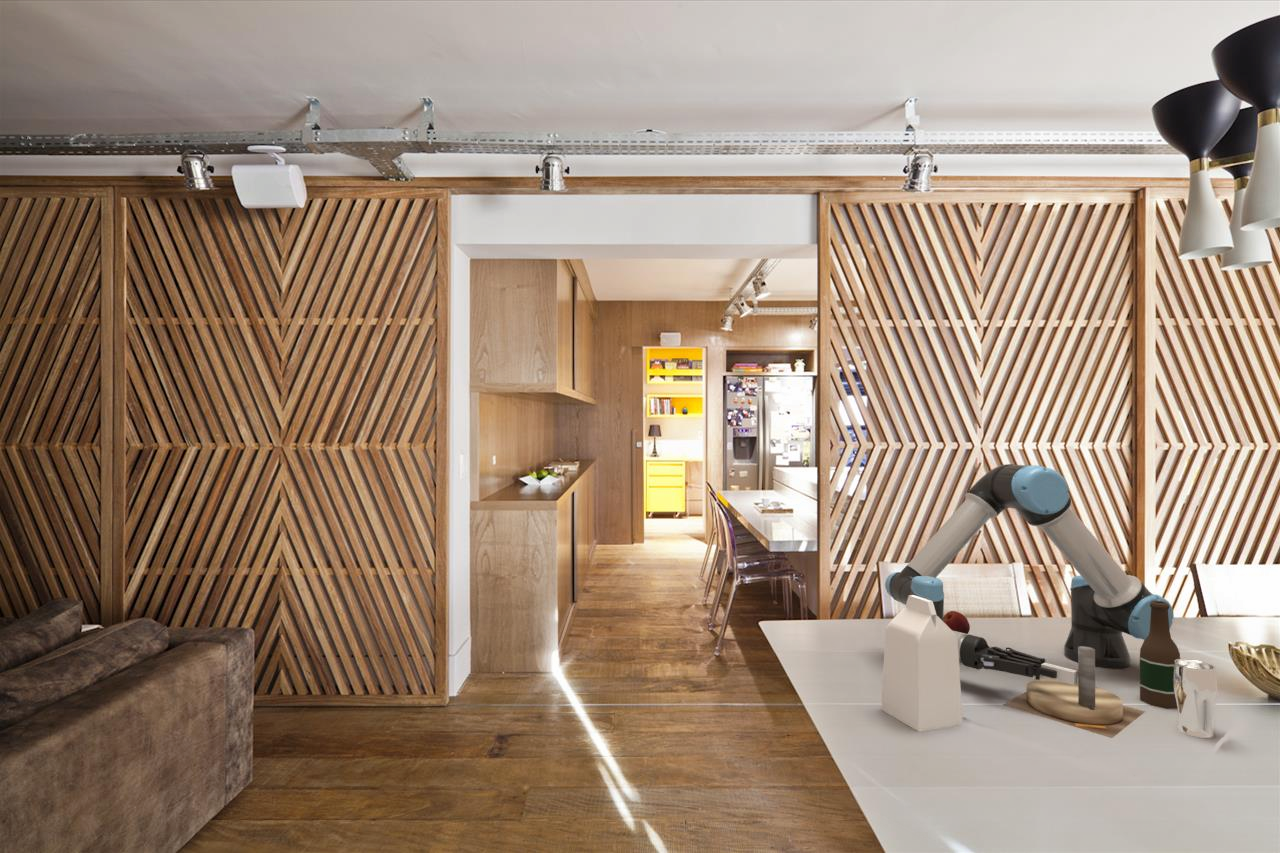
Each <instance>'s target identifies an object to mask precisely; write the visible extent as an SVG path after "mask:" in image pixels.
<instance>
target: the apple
mask: <svg viewBox="0 0 1280 853" xmlns="http://www.w3.org/2000/svg"><path fill="white" fill-rule="evenodd" d="M943 622H944V623H945V624H946V625H947V626H948V627H949V628H950V629H951V630H952V631H957V632H961V633H966V634H967V635H969V633H970V629H971V625H970V623H969V620H968V619H967V618H966V616H964V614H963V613H961V612H959V611H956V610H950V611H948V612H946V613H945V614H944V615H943Z"/></svg>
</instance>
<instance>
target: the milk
mask: <svg viewBox="0 0 1280 853" xmlns="http://www.w3.org/2000/svg"><path fill="white" fill-rule="evenodd" d="M884 633H885V634H884V635H885V636H884V649H883V651H884V652H883V668H882V669H883V670H882V688H881V707H880V709H881V710H882V711H883V712H885V713H887V714H888V715H889V716H891V717H893V718H895V719H897V720H898V721H900V722H902V723H903V724H906V725H907V726H908V727H910V728H911V729H914V730H915V731H916V732H925V731H932V730H938V729H944V727H945V728H950V726H951V727H955V726H956V725H957V726H963V725H964V723H963V722H964V720H963V707H962V705H963V704H962V690H961V689H962V686H961V673H960V672H961V671H960V664H959V654H958V640H957V637H956V635H955V633H954V632H953V631H952V630H951V629H950V628H949V627H948V626H947V625H946V624H945V623H944V622H943V621H942V620H941V619H940V618H939V617H938V616H937V615H936V611H935V608H934V604H933V601H931V600H927V599H924V598H921V597H918V596H915V595H909V596H908V599H907V603H906V605H905V606H904V607H903V608H902V609H901V610H900V611H899V612H898V613H897V615H895V616H894V617H893V618H892V619H891V621H889V623H888V624H887V625H886V628H885V632H884Z"/></svg>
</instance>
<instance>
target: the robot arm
mask: <svg viewBox="0 0 1280 853" xmlns="http://www.w3.org/2000/svg"><path fill="white" fill-rule="evenodd" d="M1069 491H1070V489H1069V485H1068V482H1067V481H1066V479H1065V478H1064V476H1063V475H1061V474H1060V473H1059V472H1058V471H1056V470H1054V469H1053V468H1049V467H1046V466H1042V465H1033V464H1032V465H1028V464H1027V465H1026V464H1024V465H1022V464H1012V463H1007V464H1001V465H999V466H996V467H994V468H992V469H991V470H989V471H988V472H986V473H985V474H984V475H983V476H982V477H980V478H979V480H978V481H976V482H975V483H974V484H973V486H972V487H971V488H970V489H969V490H968V491H967V492H966V493H965V495H964V496H965V497H964V498H965V500H964V501H963V502H962V503H961V505H960V506H958V508H957V509H956V510H955V511H954V512H953V514H952V515H951V516H950V517H949V518H948V519H947V520H946V521H945V523H944V524H943V525H942V526H941V527H940V528H939V529H938V530H937V531H936V532H935V534H933V535H932V536H931V538H930V539H929V540H928V541H927V542H926V544H924V546H923V547H922V548H921V549H920V550H919V551H918V552H917V553H916V554H915V556H914V557H913V558H912V559H911V560H910V561H909V563H907V564H906V566H904V568H903V569H902V570H901V571H895V572H892V573H890V574H889V575H888V576H887V577H886V579H885V582H884V588H885V591H886V593H887V594H888V595H889V596H890V597H892V598H893V600H894V601H896V602H898V603H900V604H902V605H905V606H906V603H907V599H908V596H909V595H915V596H918V597H921V598H924V599H927V600H931V601H933V604H934V608H935V611H936V615H937V616H938V617H939V618H940V619H941V620H942V621H943V617H944V609H945V608H944V605H945V604H944V600H945V599H944V598H945V592H944V583H943V581H942V580H941V579H940V578H938V576H939V575H940V574H941V573H942V571H944V570H945V568H946V567H947V566H948V565H949V564H950V563H951V561H953V560H954V558H955V557H956V556H957V555H958V554H959V553H960V552H961V551H962V550H963V548H964V547H966V545H967V544H968V543H969V542H970V540H972V538H973V537H974V536H976V534H977V533H978V532H979V531H980V530H981V528H983V527H984V526H985V524H986V523H987V522H988V521H989V520H990V519H994V518H995V519H996V518H997V517H999V515H1000V514H1001V513H1002V512H1003V511H1005V510H1006V509H1014V510H1016V511H1017V512H1018V513H1019V515H1021V516H1022V517H1023V518H1022V519H1024V520H1025V521H1026V522H1027V523H1028V525H1030V526H1033V527H1039V528H1040V529H1041V531H1042V532H1043V533H1044V534H1045V535H1046V537H1047V538H1048V539H1049V540H1050V542H1052V543H1053V545H1054V546H1055V547H1056V548H1057V549H1058V550H1059V551H1060V553H1061V554H1062V555H1063V556H1064V557H1065V559H1066V560H1067V561H1068V562H1069V563H1070V565H1071V566H1072V567H1073V568H1074V569H1075V570H1076V572H1077V574H1079V575H1075V576H1073V577H1072V578H1071V583H1070V584H1071V585H1070V605H1071V606H1070V611H1071V612H1070V613H1071V620H1070V622H1071V625H1070V626H1071V627H1070V631H1069V633H1068V636H1067V638H1066V641H1065V643H1064V648H1063V650H1064V656H1065V657H1067V658H1068V659H1070V660H1073V661H1075V662H1078V647H1080V646H1084V647H1090V648H1093V649H1095V667H1100V668H1110V669H1111V668H1112V669H1113V668H1114V669H1116V668H1118V669H1120V668H1127V667H1129V666H1130V665H1131V655H1130V653H1129V649H1128V646H1127V644H1126V642H1125V640H1124V637H1123V634H1127V635H1129V636H1132V637H1133V638H1135V639H1138V640H1139V639H1140V640H1143V641H1144V640H1145V639H1146V638H1147V637H1148V636H1149V631H1150V619H1151V607H1150V603H1151V601H1163V602H1166V603H1168V604H1169V607H1170V608H1169V609H1168V617H1169V629H1170V630H1171V627H1172V626H1173V623H1174V622H1173V619H1174V618H1175V616H1174V615H1175V614H1174V610H1173V609H1174V608H1173V607H1172V605H1171V603H1170V602H1169V601H1168V599H1166V598H1164V597H1162V596H1161V595H1159V594H1153V593H1152V592H1150V590H1149V589H1148V588H1147V587H1146V585H1144V584H1143V582H1142V581H1141V580H1140V579H1139V578H1138V577H1137V576H1134V575H1131V574H1126V572H1125V571H1124V570H1123V568H1122V567H1121V566H1120V565H1119V564H1118V563H1117V562H1116V560H1115V559H1114V558H1113V557H1112V555H1111V554H1109V552H1108V551H1107V550H1106V549H1105V547H1104V546H1103V545H1102V544H1101V542H1100V541H1099V540H1098V539H1097V538H1096V537H1095V536H1094V535H1093V533H1092V532H1091V531H1090V529H1089V528H1088V527H1087V526H1086V525H1085V524H1084V522H1082V520H1081V518H1079V516H1078V515H1077V514H1076V513H1075V511H1073V509H1072V508H1071V507H1072V504H1073V501H1072V498H1071V497H1070V493H1069ZM953 632H954V633H955V635H956V637H957V640H958V654H959V666H960V665H961V666H962V665H963V666H964V667H967V668H972V669H974V670H979V671H981V670H982V669H985V670H990V671H991V670H992V671H999V672H1004V673H1009V674H1013V675H1019V676H1023V677H1027V678H1034V677H1035V680H1040V679H1041V678H1044V679H1053V680H1056V681H1060V682H1064V683H1068V684H1072V685H1075V684H1077V682H1078V670H1076V669H1072V668H1067V667H1063V666H1060V665H1055V664H1050V663H1047V662H1046V658H1044V657H1043V658H1041V657H1037V656H1035V655H1031V654H1029V653H1025V652H1022V651H1018V650H1016V649H1013V648H1011V647H1005V649H1002V648H1001V647H998V646H992V647H990V646H989V644H988V642H987V641H986V639H985V638H984V637H982V636H977V635H973V634H966V633H961V632H957V631H953Z"/></svg>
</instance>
